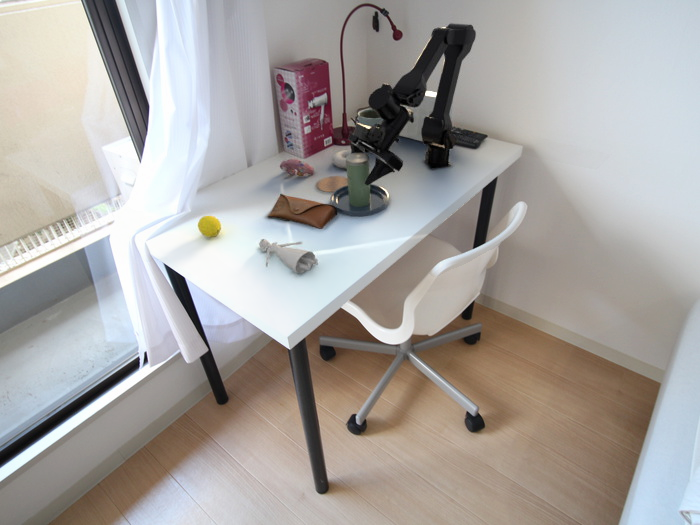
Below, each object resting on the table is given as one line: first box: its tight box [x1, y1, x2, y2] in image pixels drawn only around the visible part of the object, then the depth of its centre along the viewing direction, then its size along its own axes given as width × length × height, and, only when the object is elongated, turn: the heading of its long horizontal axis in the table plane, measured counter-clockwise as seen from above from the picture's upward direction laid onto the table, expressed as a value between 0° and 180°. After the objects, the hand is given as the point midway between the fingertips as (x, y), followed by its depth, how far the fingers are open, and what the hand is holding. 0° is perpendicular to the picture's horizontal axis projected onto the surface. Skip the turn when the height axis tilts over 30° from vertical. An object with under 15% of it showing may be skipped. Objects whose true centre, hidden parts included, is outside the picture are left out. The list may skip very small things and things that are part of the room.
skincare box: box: [399, 90, 454, 143], centre depth 149 cm, size 21×6×16 cm, turn 46°
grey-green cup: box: [357, 108, 383, 154], centre depth 146 cm, size 10×10×12 cm
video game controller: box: [279, 158, 315, 177], centre depth 134 cm, size 10×5×7 cm, turn 68°
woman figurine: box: [258, 238, 319, 275], centre depth 100 cm, size 12×4×18 cm
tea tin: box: [346, 152, 371, 207], centre depth 116 cm, size 6×6×13 cm
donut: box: [332, 149, 351, 170], centre depth 140 cm, size 10×3×10 cm
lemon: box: [197, 215, 222, 238], centre depth 109 cm, size 7×5×5 cm
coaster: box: [316, 175, 348, 193], centre depth 129 cm, size 10×10×1 cm
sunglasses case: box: [267, 193, 338, 230], centre depth 115 cm, size 18×7×7 cm, turn 64°
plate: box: [329, 183, 390, 218], centre depth 119 cm, size 16×16×2 cm
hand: (356, 178), depth 115 cm, fingers open, 9 cm apart
